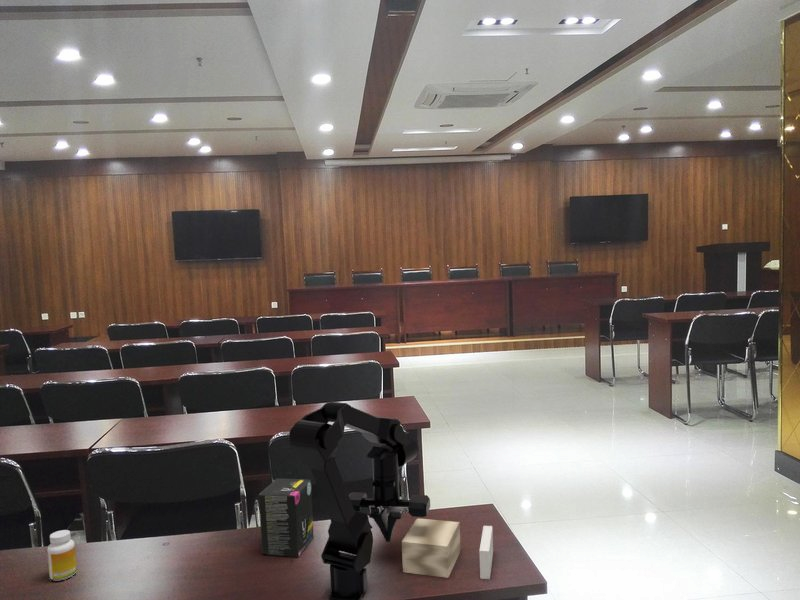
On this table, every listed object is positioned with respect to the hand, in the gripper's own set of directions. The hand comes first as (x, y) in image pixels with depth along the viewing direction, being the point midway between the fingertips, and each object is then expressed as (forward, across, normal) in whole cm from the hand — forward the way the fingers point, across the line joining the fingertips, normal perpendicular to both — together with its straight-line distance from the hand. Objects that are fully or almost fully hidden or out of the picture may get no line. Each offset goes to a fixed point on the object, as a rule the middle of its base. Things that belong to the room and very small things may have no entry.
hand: (388, 541), depth 139 cm
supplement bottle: (+4, +70, +17) cm, 72 cm away
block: (+4, -10, 0) cm, 11 cm away
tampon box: (+4, +25, -3) cm, 26 cm away
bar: (+4, -22, 0) cm, 22 cm away
